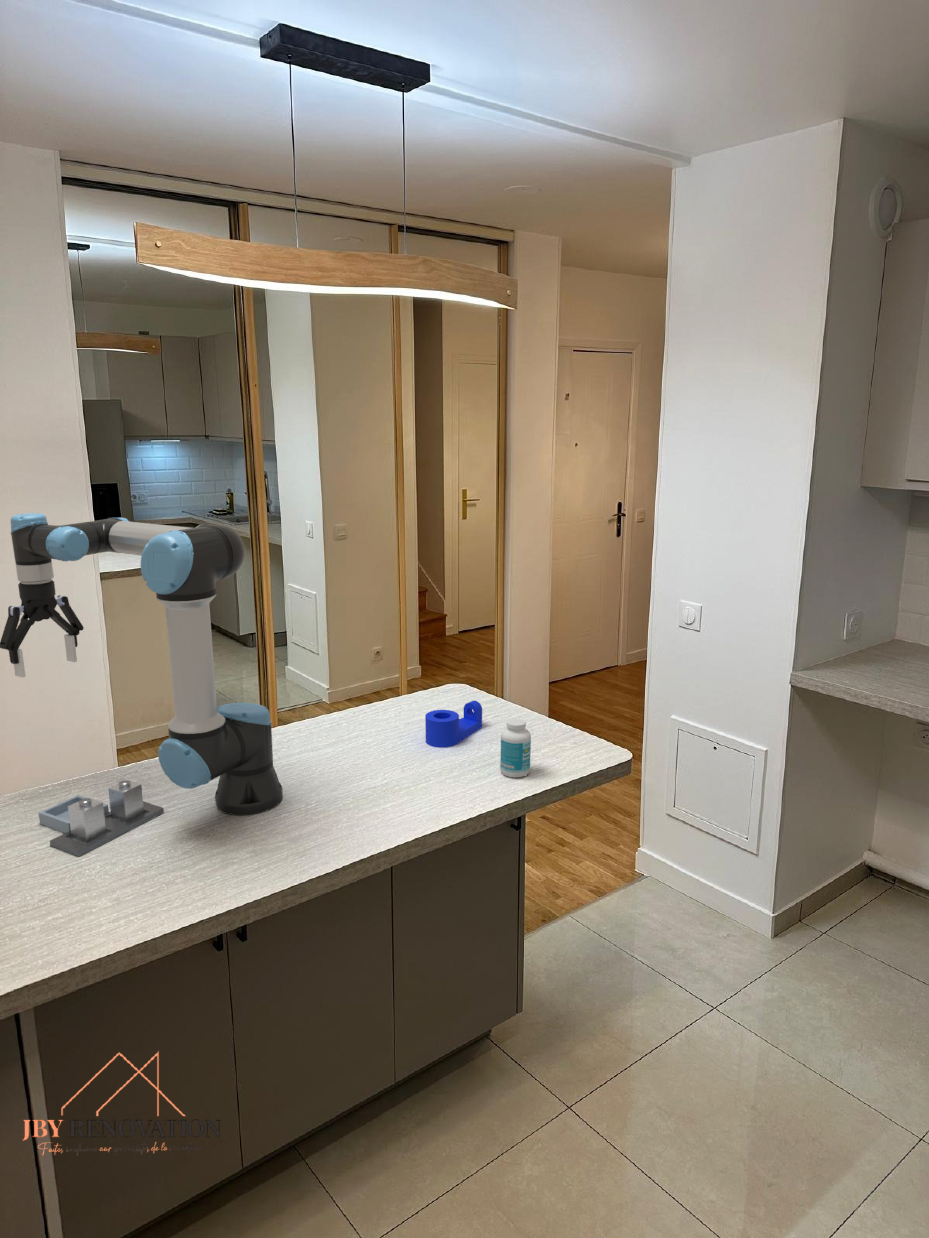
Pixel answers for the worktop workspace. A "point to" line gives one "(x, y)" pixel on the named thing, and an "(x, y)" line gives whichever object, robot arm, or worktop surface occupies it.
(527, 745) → the pill bottle
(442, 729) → the bracket
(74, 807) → the knobbed metal block
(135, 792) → the grey knobbed block
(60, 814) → the tray
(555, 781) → the worktop surface
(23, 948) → the worktop surface
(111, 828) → the grey slotted plate
